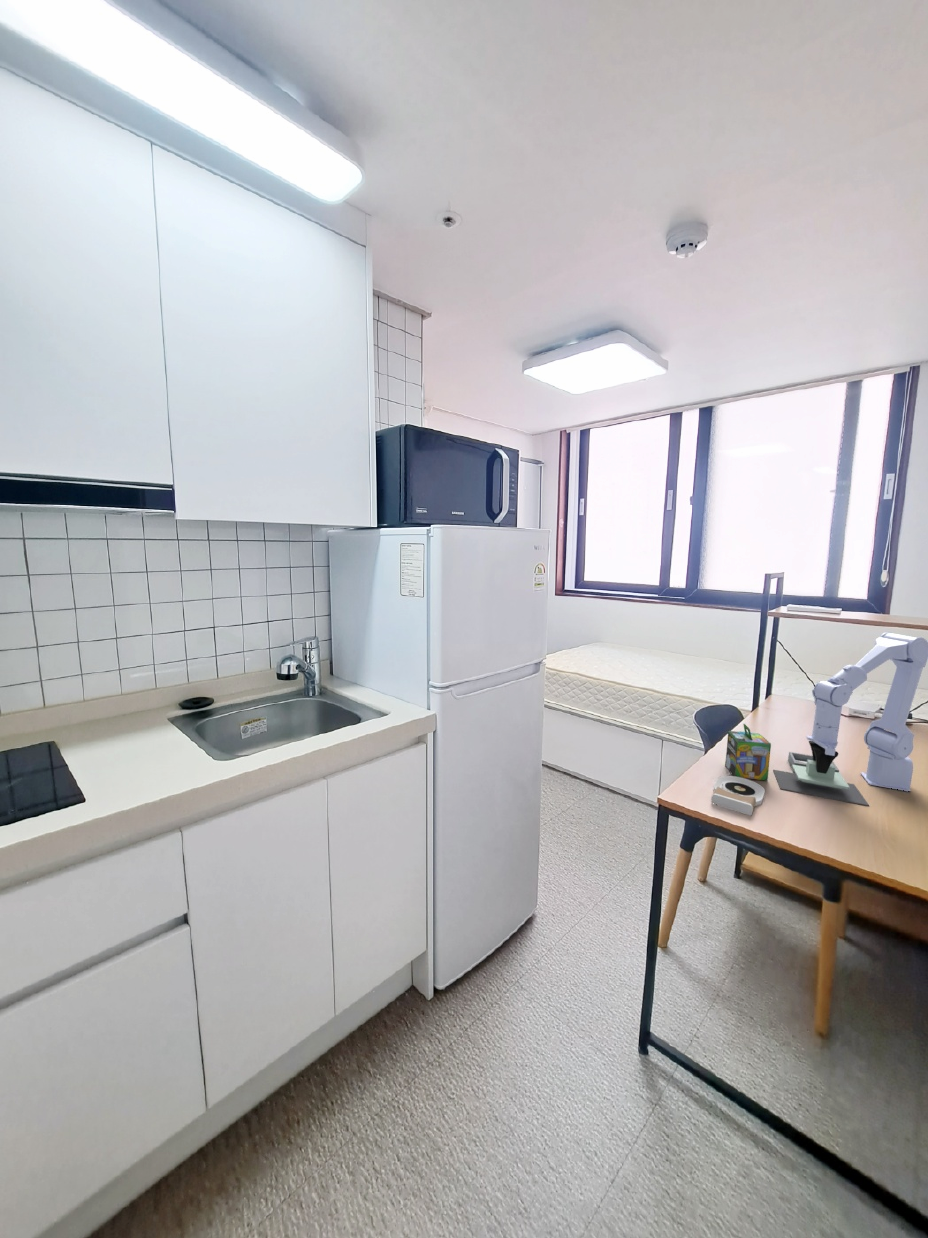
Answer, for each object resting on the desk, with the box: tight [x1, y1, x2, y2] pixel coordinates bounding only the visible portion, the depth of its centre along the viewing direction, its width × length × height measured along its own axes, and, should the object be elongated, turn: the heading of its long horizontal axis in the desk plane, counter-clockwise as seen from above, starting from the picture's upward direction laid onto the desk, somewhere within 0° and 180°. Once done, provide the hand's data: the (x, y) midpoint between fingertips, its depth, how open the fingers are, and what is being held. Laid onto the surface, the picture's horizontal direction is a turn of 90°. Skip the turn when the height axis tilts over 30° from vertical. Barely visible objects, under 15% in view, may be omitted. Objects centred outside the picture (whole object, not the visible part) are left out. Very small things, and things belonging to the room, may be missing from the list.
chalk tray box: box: [787, 751, 840, 773], centre depth 148 cm, size 11×9×4 cm
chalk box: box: [724, 723, 772, 781], centre depth 145 cm, size 9×9×15 cm
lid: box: [791, 760, 850, 789], centre depth 137 cm, size 12×10×5 cm
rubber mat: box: [772, 769, 870, 807], centre depth 138 cm, size 20×13×1 cm, turn 65°
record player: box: [710, 775, 766, 816], centre depth 132 cm, size 12×3×20 cm
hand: (819, 770), depth 137 cm, fingers closed on lid, 3 cm apart
